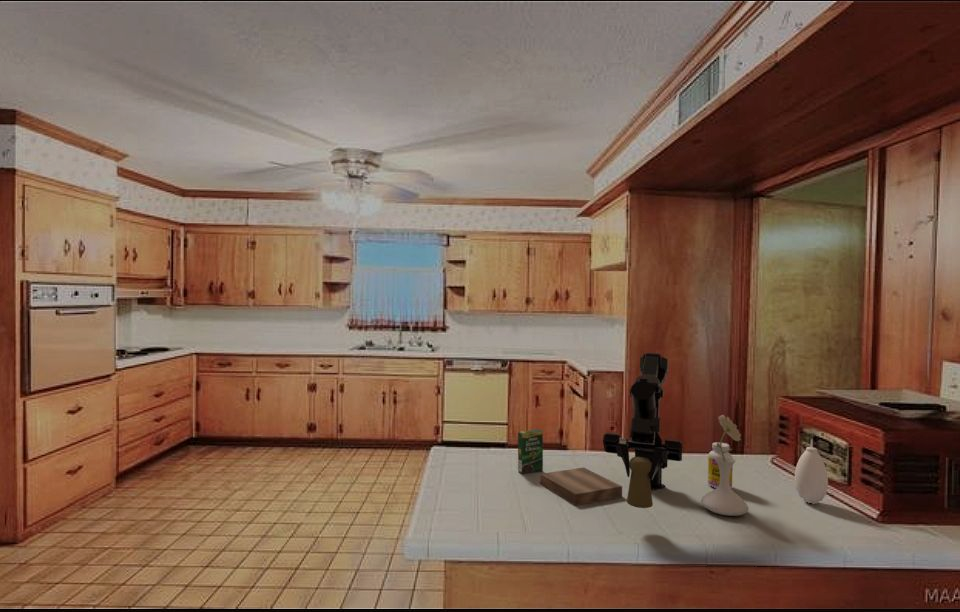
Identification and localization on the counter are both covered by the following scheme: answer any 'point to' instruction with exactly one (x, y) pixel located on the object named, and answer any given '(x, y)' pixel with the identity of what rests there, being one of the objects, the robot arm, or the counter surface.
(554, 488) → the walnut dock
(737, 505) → the flower in vase
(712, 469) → the supplement bottle
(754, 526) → the counter surface
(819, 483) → the sauce bottle
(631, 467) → the cork
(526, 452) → the coffee box
